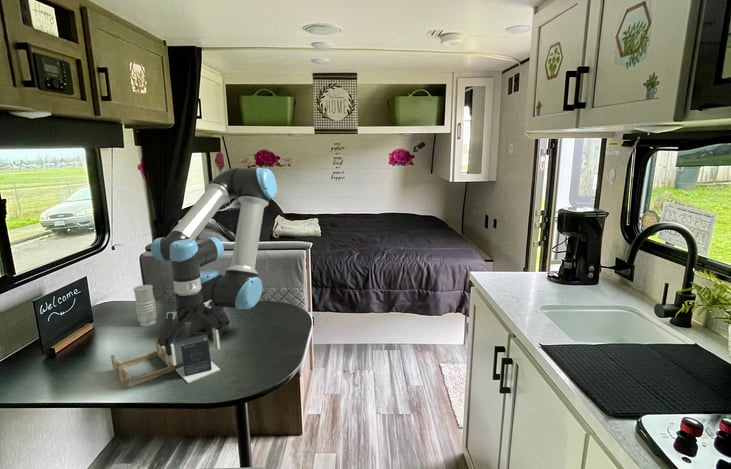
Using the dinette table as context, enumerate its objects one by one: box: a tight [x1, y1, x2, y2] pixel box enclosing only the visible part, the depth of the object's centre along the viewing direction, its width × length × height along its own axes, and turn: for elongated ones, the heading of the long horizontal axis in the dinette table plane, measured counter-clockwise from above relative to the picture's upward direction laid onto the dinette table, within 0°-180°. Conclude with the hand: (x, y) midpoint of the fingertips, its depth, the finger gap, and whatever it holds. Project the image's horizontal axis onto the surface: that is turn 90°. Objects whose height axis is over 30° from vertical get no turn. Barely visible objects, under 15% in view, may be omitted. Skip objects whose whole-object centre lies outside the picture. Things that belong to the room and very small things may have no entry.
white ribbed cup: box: [132, 284, 158, 327], centre depth 159 cm, size 7×7×15 cm
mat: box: [175, 361, 221, 384], centre depth 126 cm, size 10×10×1 cm
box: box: [180, 333, 212, 376], centre depth 125 cm, size 8×6×11 cm
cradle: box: [110, 340, 176, 390], centre depth 126 cm, size 14×14×5 cm
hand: (196, 355), depth 125 cm, fingers open, 13 cm apart
